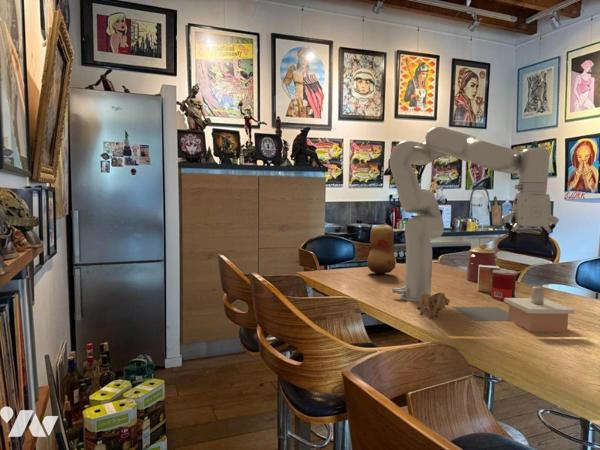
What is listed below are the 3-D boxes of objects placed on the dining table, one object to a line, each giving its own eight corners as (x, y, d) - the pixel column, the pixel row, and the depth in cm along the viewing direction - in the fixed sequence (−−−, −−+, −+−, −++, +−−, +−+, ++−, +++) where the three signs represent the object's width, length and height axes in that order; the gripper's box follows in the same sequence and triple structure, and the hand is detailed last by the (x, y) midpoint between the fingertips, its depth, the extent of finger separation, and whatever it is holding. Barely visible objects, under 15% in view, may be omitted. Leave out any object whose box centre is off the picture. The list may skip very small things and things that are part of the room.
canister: (501, 283, 184) (503, 245, 183) (473, 283, 184) (474, 245, 183) (488, 278, 197) (490, 242, 196) (461, 277, 197) (463, 242, 196)
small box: (477, 291, 167) (478, 266, 166) (477, 288, 172) (478, 264, 171) (499, 293, 164) (500, 268, 163) (497, 290, 169) (499, 265, 168)
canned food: (517, 303, 148) (518, 273, 148) (494, 301, 150) (495, 272, 149) (510, 298, 156) (512, 270, 155) (488, 296, 157) (490, 269, 157)
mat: (474, 322, 123) (474, 320, 123) (452, 308, 139) (452, 306, 139) (525, 323, 124) (525, 321, 124) (497, 308, 140) (497, 307, 140)
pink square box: (529, 333, 114) (530, 312, 114) (508, 321, 125) (509, 302, 125) (567, 333, 114) (568, 312, 114) (542, 321, 125) (543, 302, 125)
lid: (529, 313, 113) (530, 292, 112) (503, 301, 126) (504, 282, 125) (573, 313, 113) (575, 292, 113) (544, 302, 126) (545, 283, 126)
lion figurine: (451, 322, 123) (452, 293, 122) (436, 323, 121) (438, 294, 121) (423, 309, 137) (424, 283, 136) (409, 310, 135) (410, 284, 135)
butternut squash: (366, 276, 196) (368, 225, 194) (366, 271, 209) (368, 223, 208) (395, 277, 194) (397, 226, 192) (393, 272, 207) (395, 224, 205)
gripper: (511, 188, 118) (506, 245, 120) (568, 190, 119) (563, 247, 120) (498, 188, 126) (494, 242, 127) (552, 190, 126) (547, 244, 128)
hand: (527, 244), depth 124 cm, fingers open, 9 cm apart
